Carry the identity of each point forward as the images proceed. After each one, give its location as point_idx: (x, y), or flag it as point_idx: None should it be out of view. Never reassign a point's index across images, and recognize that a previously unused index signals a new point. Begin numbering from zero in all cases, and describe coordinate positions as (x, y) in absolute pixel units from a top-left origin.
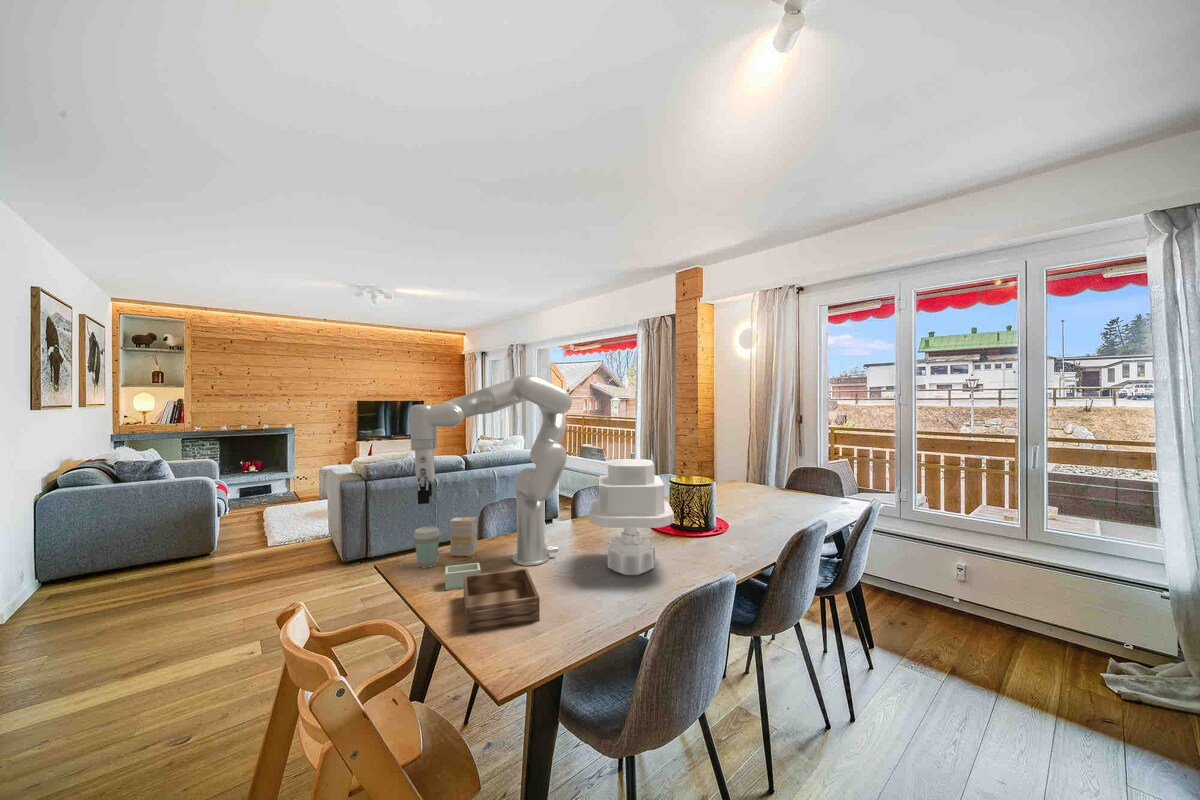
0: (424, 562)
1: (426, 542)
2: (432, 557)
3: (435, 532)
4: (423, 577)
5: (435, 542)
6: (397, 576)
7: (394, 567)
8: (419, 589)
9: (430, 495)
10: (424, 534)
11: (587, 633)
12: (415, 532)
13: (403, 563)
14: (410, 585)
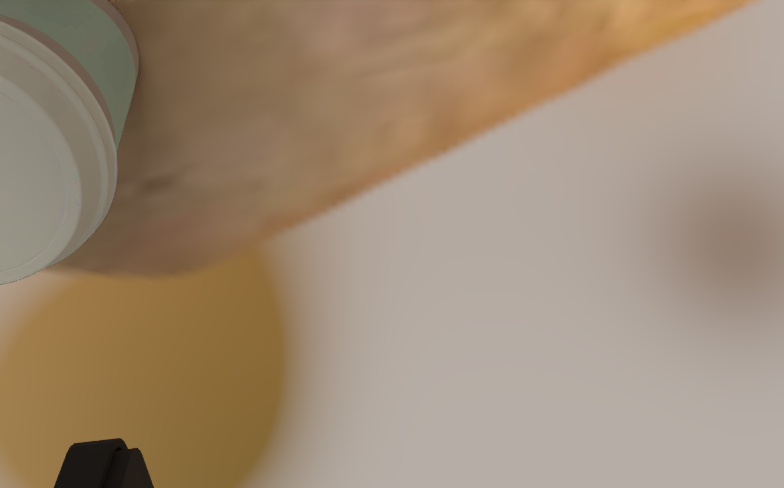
0: (133, 75)
1: (107, 119)
2: (100, 22)
3: (4, 65)
4: (321, 35)
5: (46, 32)
6: (275, 208)
7: (112, 261)
8: (529, 24)
9: (136, 458)
10: (88, 173)
11: None
12: (37, 271)
13: None
14: (445, 96)
